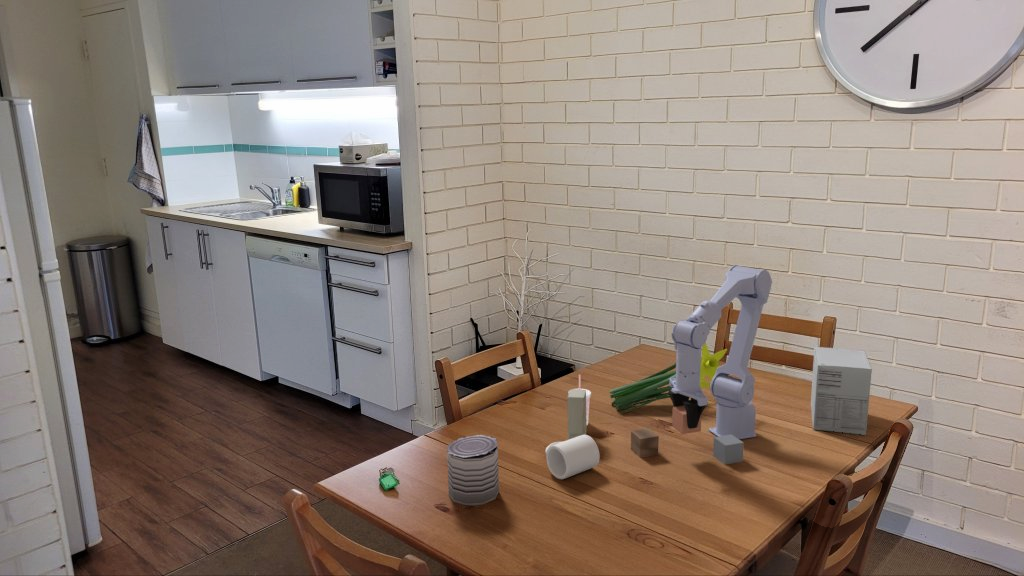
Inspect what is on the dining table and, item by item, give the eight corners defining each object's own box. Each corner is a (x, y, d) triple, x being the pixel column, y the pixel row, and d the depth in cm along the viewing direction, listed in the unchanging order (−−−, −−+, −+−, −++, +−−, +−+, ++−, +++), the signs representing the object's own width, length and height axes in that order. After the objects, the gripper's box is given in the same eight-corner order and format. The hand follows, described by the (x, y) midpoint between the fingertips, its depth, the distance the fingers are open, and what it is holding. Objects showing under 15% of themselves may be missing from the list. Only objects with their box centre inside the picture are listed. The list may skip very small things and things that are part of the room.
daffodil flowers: (605, 398, 226) (714, 361, 228) (623, 438, 216) (737, 399, 218) (601, 365, 213) (716, 326, 216) (619, 406, 203) (740, 365, 205)
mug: (600, 472, 178) (600, 440, 176) (567, 484, 172) (567, 452, 170) (566, 454, 187) (566, 424, 185) (535, 466, 181) (534, 435, 180)
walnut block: (648, 446, 191) (649, 428, 189) (658, 454, 186) (658, 436, 185) (630, 449, 189) (631, 431, 188) (639, 458, 184) (640, 439, 183)
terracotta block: (690, 423, 187) (690, 404, 186) (700, 431, 182) (701, 411, 181) (672, 426, 185) (672, 407, 184) (682, 434, 181) (683, 414, 179)
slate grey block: (730, 453, 186) (731, 434, 185) (742, 461, 181) (743, 442, 180) (713, 456, 185) (713, 437, 183) (724, 464, 180) (725, 445, 179)
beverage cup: (565, 426, 204) (565, 377, 201) (572, 417, 209) (572, 370, 206) (587, 429, 202) (587, 379, 198) (593, 420, 207) (593, 372, 204)
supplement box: (867, 436, 194) (873, 369, 190) (812, 430, 198) (816, 365, 194) (860, 411, 210) (865, 349, 206) (809, 406, 214) (813, 345, 210)
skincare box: (584, 442, 194) (584, 398, 191) (567, 441, 194) (566, 397, 192) (586, 432, 200) (586, 389, 197) (570, 431, 200) (569, 388, 198)
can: (480, 510, 161) (478, 459, 159) (438, 497, 167) (435, 447, 164) (508, 488, 171) (507, 439, 168) (467, 476, 177) (466, 429, 174)
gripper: (658, 363, 186) (657, 414, 189) (689, 382, 172) (687, 437, 175) (684, 359, 188) (682, 410, 191) (716, 378, 174) (713, 432, 177)
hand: (686, 423), depth 183 cm, fingers closed on terracotta block, 5 cm apart
